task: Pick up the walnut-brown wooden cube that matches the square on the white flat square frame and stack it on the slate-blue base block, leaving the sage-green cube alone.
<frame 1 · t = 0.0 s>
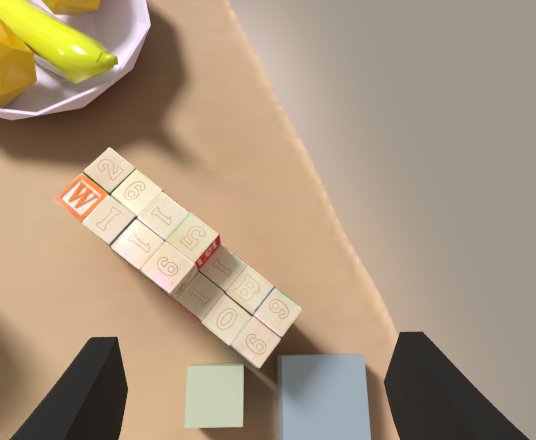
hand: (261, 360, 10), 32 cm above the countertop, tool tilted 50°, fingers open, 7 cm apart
fruit bowl: (53, 54, 50), on the countertop
sage cube: (216, 389, 40), on the countertop
base block: (316, 395, 41), on the countertop
stack of blocks: (193, 277, 43), on the countertop
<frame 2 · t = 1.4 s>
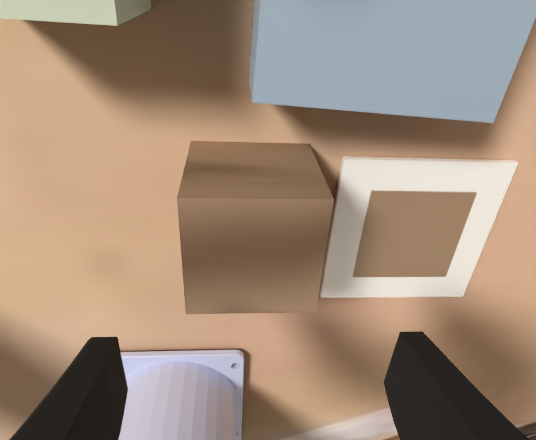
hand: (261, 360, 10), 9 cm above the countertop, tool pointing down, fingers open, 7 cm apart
walnut cube: (249, 193, 18), on the countertop
white flat square frame: (408, 232, 20), on the countertop
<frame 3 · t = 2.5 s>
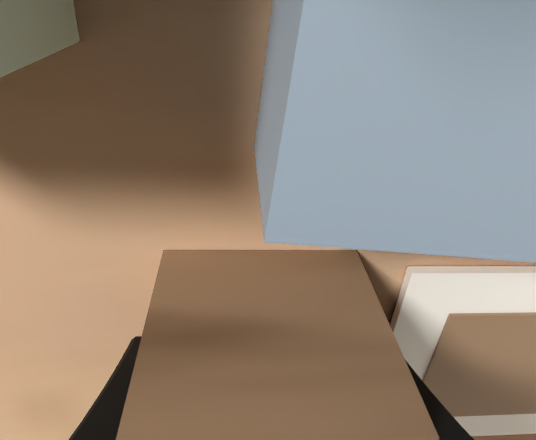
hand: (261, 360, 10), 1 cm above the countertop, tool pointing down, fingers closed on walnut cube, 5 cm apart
walnut cube: (258, 319, 12), on the countertop, touching gripper
white flat square frame: (494, 360, 13), on the countertop
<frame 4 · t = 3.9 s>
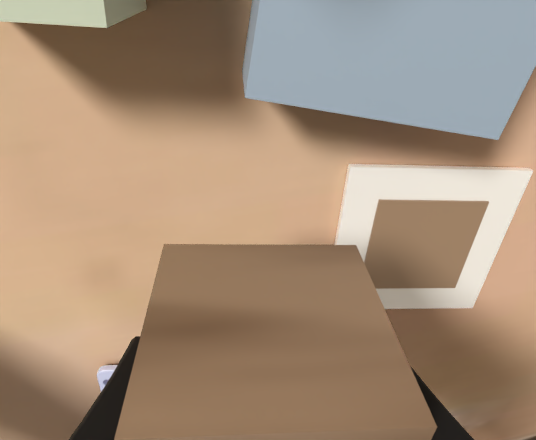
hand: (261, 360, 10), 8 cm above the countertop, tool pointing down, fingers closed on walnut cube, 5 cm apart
walnut cube: (258, 314, 12), point 7 cm above the countertop, touching gripper
white flat square frame: (416, 242, 19), on the countertop
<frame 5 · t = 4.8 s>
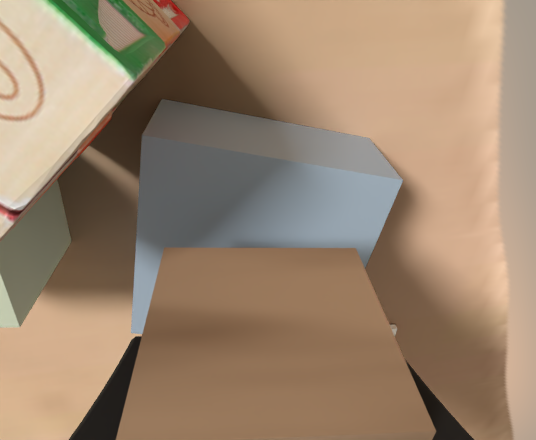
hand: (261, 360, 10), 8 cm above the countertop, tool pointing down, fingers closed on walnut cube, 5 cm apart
walnut cube: (258, 317, 12), point 6 cm above the countertop, touching gripper
base block: (250, 206, 17), on the countertop
when the fingers open (6 cm above the countertop, at t = 5.5 s): walnut cube drops 1 cm, point 4 cm above the countertop.
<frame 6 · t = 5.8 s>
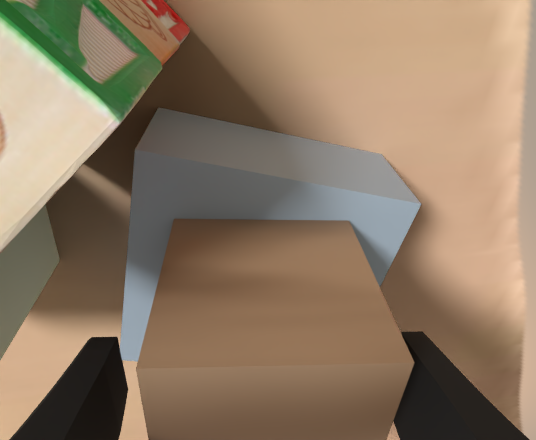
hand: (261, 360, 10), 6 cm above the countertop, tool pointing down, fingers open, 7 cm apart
walnut cube: (259, 286, 13), point 4 cm above the countertop
base block: (250, 222, 16), on the countertop
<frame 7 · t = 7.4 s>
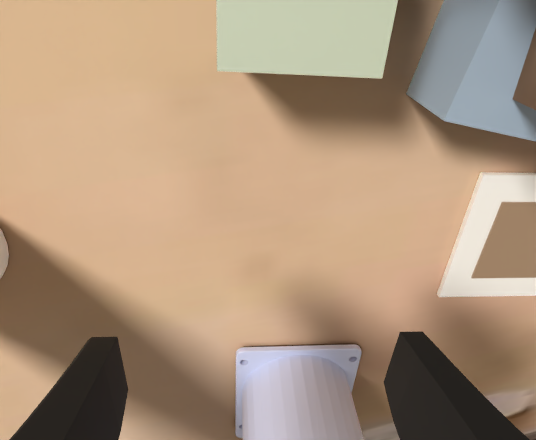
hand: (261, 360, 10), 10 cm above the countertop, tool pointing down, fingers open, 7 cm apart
white flat square frame: (525, 238, 22), on the countertop
base block: (530, 16, 16), on the countertop, touching walnut cube
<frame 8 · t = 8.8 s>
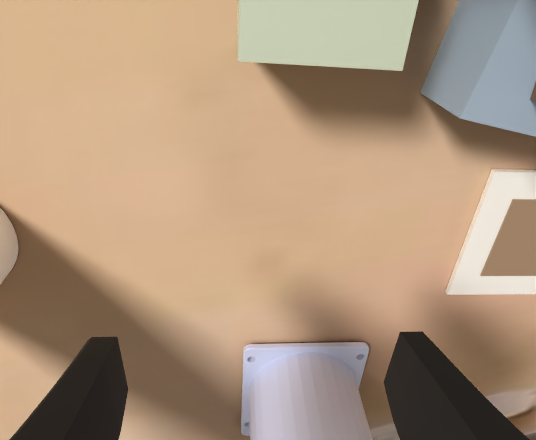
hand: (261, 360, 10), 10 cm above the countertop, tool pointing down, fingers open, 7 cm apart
white flat square frame: (534, 236, 22), on the countertop
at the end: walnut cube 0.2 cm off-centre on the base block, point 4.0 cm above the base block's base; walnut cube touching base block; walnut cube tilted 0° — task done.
